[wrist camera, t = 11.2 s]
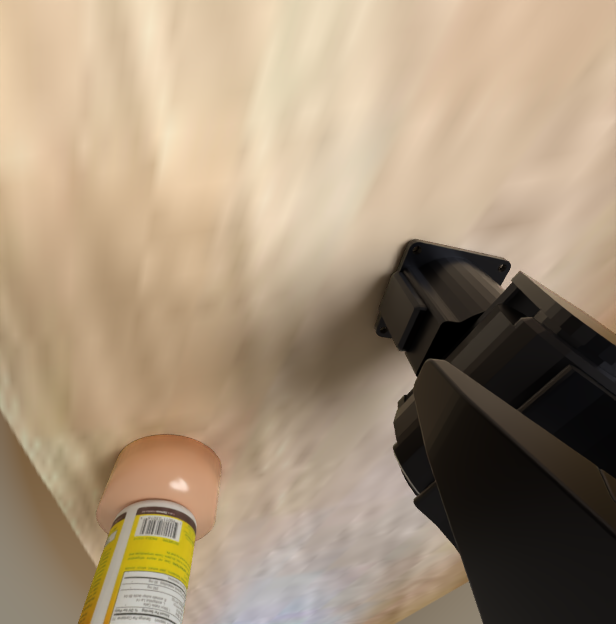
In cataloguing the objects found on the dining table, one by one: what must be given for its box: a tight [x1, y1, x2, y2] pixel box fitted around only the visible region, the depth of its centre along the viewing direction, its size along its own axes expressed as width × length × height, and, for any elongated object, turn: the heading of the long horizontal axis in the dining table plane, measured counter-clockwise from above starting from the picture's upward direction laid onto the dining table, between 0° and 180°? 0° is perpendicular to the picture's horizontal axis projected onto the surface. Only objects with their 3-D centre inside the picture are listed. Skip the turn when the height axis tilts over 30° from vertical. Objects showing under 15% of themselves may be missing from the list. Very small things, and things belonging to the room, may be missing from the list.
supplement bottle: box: [78, 500, 197, 624], centre depth 22 cm, size 6×6×10 cm
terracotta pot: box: [96, 435, 221, 541], centre depth 28 cm, size 8×8×4 cm
